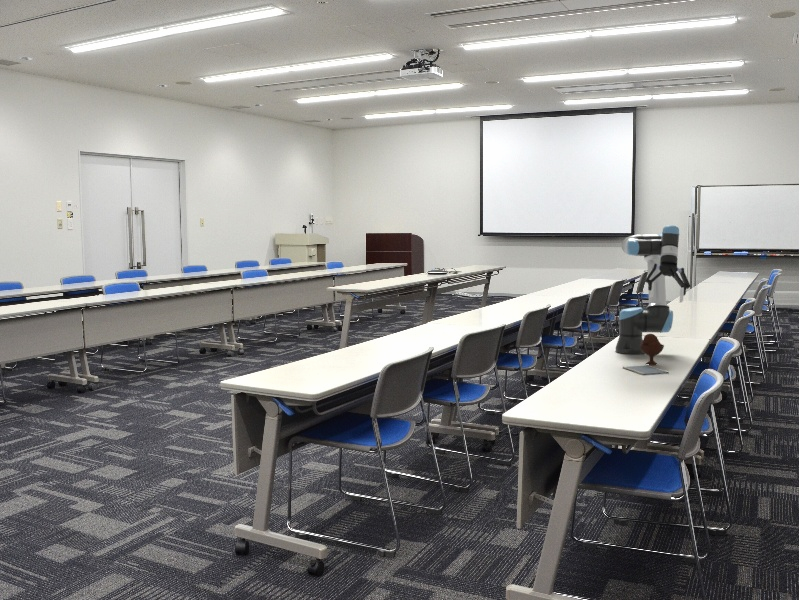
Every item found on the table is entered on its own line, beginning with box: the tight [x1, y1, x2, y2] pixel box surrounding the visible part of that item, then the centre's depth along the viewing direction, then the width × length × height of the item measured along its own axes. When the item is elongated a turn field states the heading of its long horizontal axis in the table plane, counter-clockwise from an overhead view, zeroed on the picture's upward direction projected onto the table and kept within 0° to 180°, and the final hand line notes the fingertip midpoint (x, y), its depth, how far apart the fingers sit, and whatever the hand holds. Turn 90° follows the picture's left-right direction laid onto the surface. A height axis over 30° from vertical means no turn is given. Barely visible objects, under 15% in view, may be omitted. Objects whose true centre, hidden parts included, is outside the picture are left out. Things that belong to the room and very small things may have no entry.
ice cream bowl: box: [640, 333, 665, 366], centre depth 343 cm, size 11×11×15 cm
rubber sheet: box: [622, 364, 670, 376], centre depth 328 cm, size 17×13×1 cm
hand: (666, 299), depth 328 cm, fingers open, 13 cm apart
